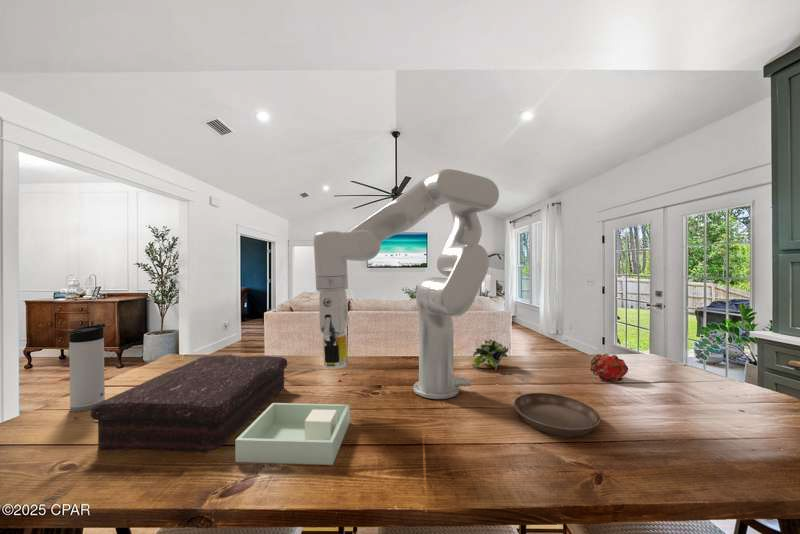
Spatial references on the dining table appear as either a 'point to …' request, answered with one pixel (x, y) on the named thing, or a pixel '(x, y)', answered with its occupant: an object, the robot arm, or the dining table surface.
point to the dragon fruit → (608, 367)
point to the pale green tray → (290, 436)
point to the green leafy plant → (490, 353)
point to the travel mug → (86, 367)
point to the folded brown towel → (190, 405)
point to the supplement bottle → (342, 351)
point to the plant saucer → (557, 414)
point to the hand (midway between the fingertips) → (335, 357)
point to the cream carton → (320, 424)
